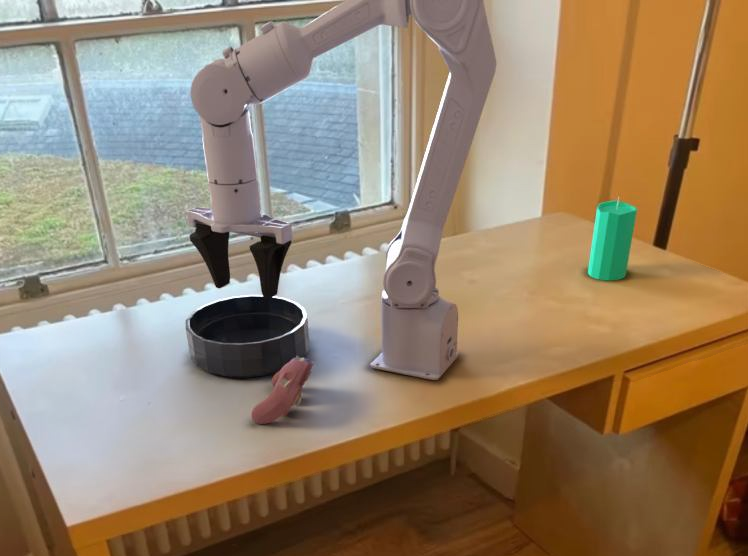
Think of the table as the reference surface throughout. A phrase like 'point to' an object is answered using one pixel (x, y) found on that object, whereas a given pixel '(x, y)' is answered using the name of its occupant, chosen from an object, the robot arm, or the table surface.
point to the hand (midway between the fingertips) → (246, 290)
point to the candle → (612, 240)
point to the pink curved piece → (283, 391)
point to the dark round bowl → (247, 335)
